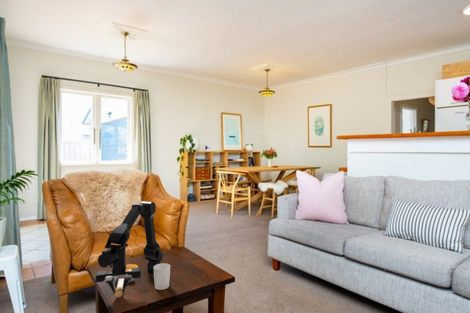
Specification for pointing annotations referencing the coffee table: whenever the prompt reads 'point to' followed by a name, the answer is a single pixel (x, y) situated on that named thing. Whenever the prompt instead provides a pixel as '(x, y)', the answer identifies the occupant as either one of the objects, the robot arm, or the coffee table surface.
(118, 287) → the white elongated bar
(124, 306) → the coffee table surface
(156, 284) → the white cup
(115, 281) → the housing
